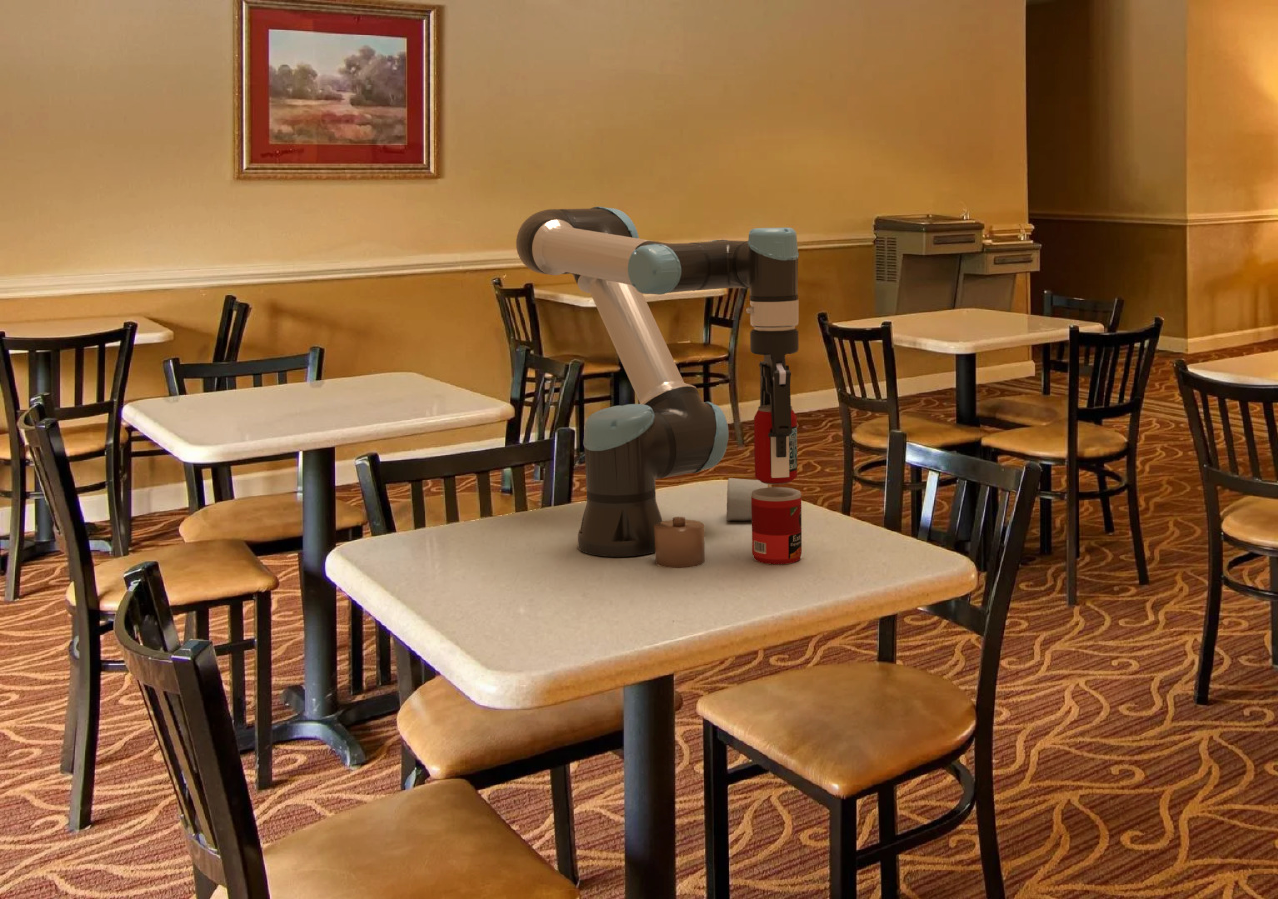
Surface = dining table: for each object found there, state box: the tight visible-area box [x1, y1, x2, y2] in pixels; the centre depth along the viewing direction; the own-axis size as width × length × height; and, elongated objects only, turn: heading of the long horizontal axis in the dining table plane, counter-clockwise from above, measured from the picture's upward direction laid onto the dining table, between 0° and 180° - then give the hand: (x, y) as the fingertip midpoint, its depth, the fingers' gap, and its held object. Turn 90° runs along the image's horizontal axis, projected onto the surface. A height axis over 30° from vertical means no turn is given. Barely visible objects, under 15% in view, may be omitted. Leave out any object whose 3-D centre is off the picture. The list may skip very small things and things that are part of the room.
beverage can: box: [753, 405, 798, 485], centre depth 208 cm, size 7×7×12 cm
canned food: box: [751, 486, 803, 565], centre depth 211 cm, size 8×8×11 cm
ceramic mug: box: [726, 477, 773, 522], centre depth 239 cm, size 11×8×8 cm
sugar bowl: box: [654, 516, 706, 569], centre depth 212 cm, size 8×8×7 cm
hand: (775, 472), depth 209 cm, fingers closed on beverage can, 7 cm apart
